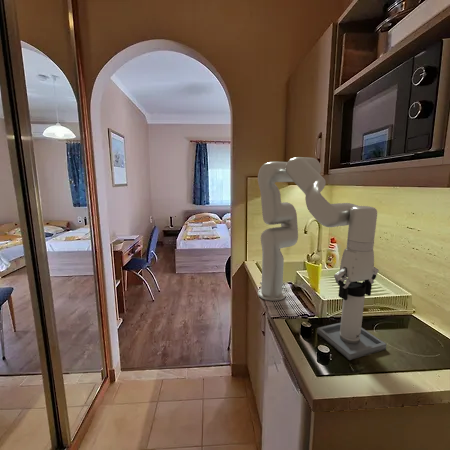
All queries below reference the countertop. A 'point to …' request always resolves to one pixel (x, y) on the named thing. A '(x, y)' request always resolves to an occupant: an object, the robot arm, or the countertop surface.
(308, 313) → the countertop surface
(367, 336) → the tray
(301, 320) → the countertop surface
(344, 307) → the travel mug
